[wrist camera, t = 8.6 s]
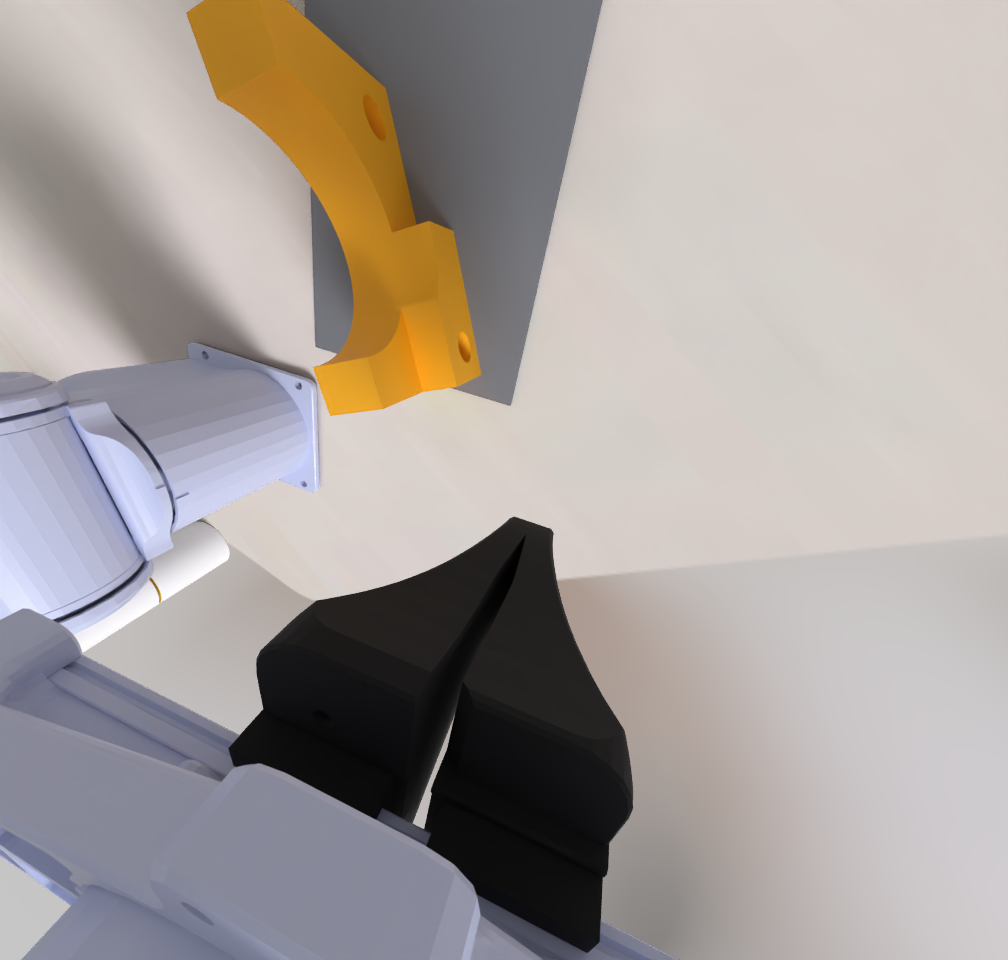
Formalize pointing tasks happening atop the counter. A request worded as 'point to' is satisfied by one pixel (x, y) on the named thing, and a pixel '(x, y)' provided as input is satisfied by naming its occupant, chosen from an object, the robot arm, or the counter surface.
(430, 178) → the mat
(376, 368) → the pipe clamp
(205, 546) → the tube
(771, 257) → the counter surface
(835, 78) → the counter surface
